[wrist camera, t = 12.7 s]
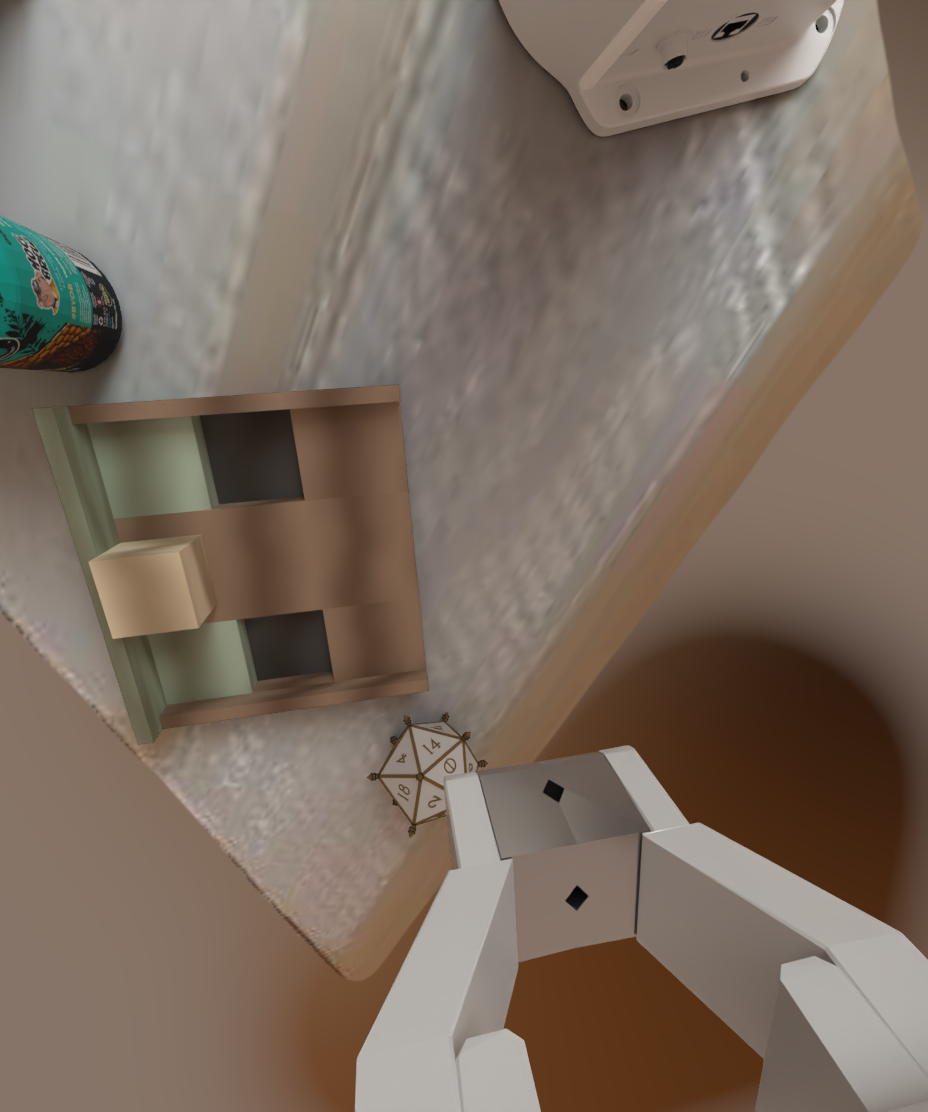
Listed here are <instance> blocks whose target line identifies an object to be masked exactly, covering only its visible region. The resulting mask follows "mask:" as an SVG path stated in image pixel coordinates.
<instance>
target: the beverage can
mask: <svg viewBox="0 0 928 1112" xmlns="http://www.w3.org/2000/svg"><path fill="white" fill-rule="evenodd" d="M121 328H122V317H121V311H120V306H119V301H118V299H117V297H116V294H115V292H114V290H113V288H112V286H111V285H110V283H109V281H108V280H107V278H106V277H105V275H104V274H103V273H102V272H101V271H100V270H99V269H98V268H97V267H96V266H95V265H94V264H93V263H92V262H91V261H89V260H88V259H87V258H86V257H84V256H83V255H82V254H80V253H78V252H76V251H74V250H72V249H70V248H69V247H66V246H64V245H62V244H60V243H58V242H56V241H54V240H51V239H49V238H47V237H45V236H43V235H41V234H38V233H36V232H34V231H32V230H30V229H28V228H25V227H23V226H21V225H19V224H17V223H15V222H13V221H10V220H8V219H6V218H4V217H2V216H0V368H12V369H28V370H44V371H60V372H77V371H85V370H87V369H90V368H93V367H96V366H97V365H99V364H100V363H102V362H103V361H105V360H106V359H107V358H108V357H109V355H110V354H111V353H112V352H113V351H114V349H115V347H116V345H117V343H118V341H119V337H120V333H121Z"/></svg>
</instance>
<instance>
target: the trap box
mask: <svg viewBox="0 0 928 1112" xmlns="http://www.w3.org/2000/svg"><path fill="white" fill-rule="evenodd" d="M32 411H33V414H34V417H35V420H36V423H37V427H38V430H39V433H40V436H41V439H42V442H43V446H44V449H45V452H46V455H47V458H48V461H49V465H50V468H51V471H52V474H53V477H54V480H55V484H56V487H57V490H58V493H59V496H60V499H61V503H62V506H63V509H64V512H65V515H66V518H67V522H68V525H69V528H70V531H71V534H72V538H73V541H74V544H75V547H76V550H77V553H78V557H79V560H80V563H81V566H82V569H83V572H84V576H85V579H86V582H87V585H88V588H89V591H90V595H91V598H92V601H93V604H94V607H95V610H96V614H97V617H98V620H99V623H100V626H101V629H102V633H103V636H104V639H105V642H106V645H107V649H108V652H109V655H110V658H111V661H112V664H113V668H114V671H115V674H116V677H117V680H118V683H119V687H120V690H121V693H122V696H123V699H124V702H125V706H126V709H127V712H128V715H129V718H130V721H131V725H132V728H133V731H134V734H135V737H136V740H137V744H138V745H141V744H148V743H154V741H155V740H156V738H157V737H158V735H159V733H160V732H161V730H162V729H166V728H173V727H180V726H187V725H194V724H201V723H208V722H215V721H222V720H229V719H236V718H243V717H250V716H257V715H264V714H271V713H278V712H285V711H292V710H299V709H306V708H313V707H320V706H326V705H333V704H340V703H347V702H354V701H361V700H368V699H375V698H382V697H389V696H396V695H403V694H410V693H417V692H424V691H429V685H428V677H427V671H426V662H425V652H424V642H423V632H422V621H421V611H420V601H419V591H418V581H417V571H416V561H415V551H414V541H413V531H412V521H411V511H410V500H409V490H408V480H407V470H406V460H405V450H404V440H403V430H402V420H401V410H400V391H399V385H384V386H369V387H354V388H339V389H324V390H308V391H293V392H278V393H263V394H248V395H233V396H218V397H203V398H188V399H172V400H157V401H142V402H127V403H112V404H97V405H82V406H66V407H47V408H32ZM191 535H201V537H202V541H203V545H204V549H205V553H206V557H207V562H208V566H209V570H210V574H211V578H212V583H213V587H214V591H215V595H216V599H217V605H216V606H215V607H214V609H213V610H212V611H211V613H210V614H209V615H208V616H207V618H206V619H205V620H204V622H203V623H202V624H201V626H200V627H199V628H196V629H188V630H180V631H172V632H164V633H156V634H148V635H140V636H132V637H124V638H116V639H113V638H112V635H111V632H110V629H109V626H108V623H107V619H106V616H105V613H104V610H103V607H102V604H101V600H100V597H99V594H98V591H97V588H96V585H95V581H94V578H93V575H92V572H91V569H90V566H89V561H91V560H92V559H94V558H96V557H97V556H99V555H101V554H102V553H104V552H106V551H108V550H109V549H111V548H113V547H114V546H116V545H118V544H120V543H124V542H133V541H143V540H153V539H162V538H172V537H182V536H191Z"/></svg>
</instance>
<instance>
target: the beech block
mask: <svg viewBox="0 0 928 1112" xmlns="http://www.w3.org/2000/svg"><path fill="white" fill-rule="evenodd" d="M89 566H90V569H91V572H92V575H93V578H94V581H95V585H96V588H97V591H98V594H99V597H100V600H101V604H102V607H103V610H104V613H105V616H106V619H107V623H108V626H109V629H110V632H111V635H112V638H113V639H116V638H124V637H132V636H140V635H148V634H156V633H164V632H172V631H180V630H188V629H196V628H199V627H200V626H201V624H202V623H203V622H204V620H205V619H206V618H207V616H208V615H209V614H210V613H211V611H212V610H213V609H214V607H215V606H216V605H217V599H216V595H215V591H214V587H213V583H212V578H211V574H210V570H209V566H208V562H207V557H206V553H205V549H204V545H203V541H202V537H201V535H191V536H182V537H172V538H162V539H153V540H143V541H133V542H124V543H120V544H118V545H116V546H114V547H113V548H111V549H109V550H108V551H106V552H104V553H102V554H101V555H99V556H97V557H96V558H94V559H92V560H91V561H89Z"/></svg>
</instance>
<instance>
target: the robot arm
mask: <svg viewBox="0 0 928 1112" xmlns="http://www.w3.org/2000/svg"><path fill="white" fill-rule="evenodd" d="M499 2H500V4H501V7H502V9H503V12H504V14H505V16H506V18H507V20H508V22H509V24H510V26H511V28H512V29H513V31H514V33H515V34H516V36H517V37H518V39H519V40H520V42H521V43H522V45H523V46H524V47H525V49H526V50H527V51H528V52H529V54H530V55H531V56H532V57H533V58H534V59H535V60H536V61H537V62H538V63H539V64H540V65H541V66H542V67H543V68H544V69H545V70H547V71H548V72H549V73H550V74H551V75H552V76H554V77H555V78H556V79H557V80H558V81H559V82H560V83H561V84H562V85H563V86H564V87H565V88H566V89H567V91H568V92H569V94H570V96H571V98H572V100H573V102H574V104H575V106H576V108H577V110H578V112H579V114H580V116H581V117H582V119H583V121H584V122H585V124H586V125H587V127H588V128H589V129H590V130H591V131H592V132H593V133H594V134H596V135H598V136H603V137H604V136H611V135H615V134H619V133H623V132H627V131H631V130H634V129H638V128H642V127H646V126H650V125H654V124H658V123H662V122H666V121H670V120H674V119H678V118H682V117H686V116H690V115H694V114H698V113H702V112H706V111H710V110H714V109H718V108H722V107H726V106H730V105H734V104H738V103H742V102H746V101H750V100H754V99H758V98H762V97H766V96H770V95H774V94H777V93H781V92H785V91H789V90H792V89H795V88H797V87H799V86H801V85H802V84H803V83H804V82H805V81H806V80H807V79H809V78H810V77H811V76H812V74H813V73H814V72H815V70H816V68H817V67H818V65H819V63H820V62H821V60H822V58H823V56H824V54H825V52H826V50H827V48H828V46H829V44H830V41H831V39H832V37H833V34H834V32H835V29H836V26H837V23H838V20H839V17H840V14H841V10H842V7H843V3H844V0H499ZM815 24H816V25H817V26H818V29H819V32H817V30H816V27H815ZM620 100H623V101H625V102H626V104H627V111H624V110H622V109H621V107H620V104H619V101H620ZM444 793H445V804H446V815H447V825H448V836H449V845H450V854H451V863H452V870H450V871H448V872H447V874H446V877H445V879H444V881H443V883H442V885H441V887H440V889H439V891H438V893H437V895H436V897H435V899H434V901H433V903H432V906H431V908H430V909H429V911H428V914H427V916H426V918H425V920H424V922H423V924H422V926H421V928H420V930H419V932H418V934H417V936H416V938H415V940H414V942H413V944H412V946H411V949H410V951H409V953H408V955H407V957H406V959H405V961H404V963H403V965H402V967H401V969H400V971H399V973H398V976H397V977H396V979H395V981H394V984H393V986H392V988H391V990H390V992H389V994H388V996H387V998H386V1000H385V1002H384V1004H383V1006H382V1008H381V1010H380V1012H379V1014H378V1016H377V1018H376V1020H375V1023H374V1025H373V1027H372V1029H371V1031H370V1033H369V1035H368V1037H367V1039H366V1041H365V1043H364V1045H363V1048H362V1049H361V1052H360V1053H359V1056H358V1058H357V1069H356V1097H355V1112H541V1110H540V1106H539V1102H538V1098H537V1093H536V1089H535V1085H534V1080H533V1076H532V1072H531V1068H530V1063H529V1059H528V1055H527V1050H526V1046H525V1042H524V1040H523V1039H521V1038H520V1037H518V1036H517V1035H515V1034H514V1033H512V1032H511V1031H509V1030H508V1029H503V1028H504V1024H505V1020H506V1016H507V1012H508V1007H509V1003H510V999H511V995H512V991H513V987H514V983H515V978H516V974H517V970H518V962H522V961H526V960H529V959H533V958H537V957H541V956H545V955H549V954H553V953H557V952H561V951H565V950H569V949H572V948H576V947H582V946H587V945H593V944H598V943H604V942H609V941H614V940H620V939H626V938H630V937H636V936H637V938H636V940H637V941H638V942H639V943H640V944H641V945H642V946H643V947H644V948H646V950H648V951H649V952H650V953H651V954H652V955H653V956H654V957H655V958H656V959H657V960H658V961H659V962H660V963H662V964H663V965H664V966H665V967H666V968H667V969H668V970H669V971H670V972H671V973H672V974H673V975H675V977H677V978H678V979H679V980H680V981H681V982H682V983H683V984H684V985H685V986H686V987H687V988H688V989H689V990H691V991H692V992H693V993H694V994H695V995H696V996H697V997H698V998H699V999H700V1000H701V1001H702V1002H703V1003H704V1004H706V1005H707V1006H708V1007H709V1008H710V1009H711V1010H712V1011H713V1012H714V1013H715V1014H716V1015H718V1016H719V1017H720V1018H721V1019H722V1020H723V1021H724V1022H725V1023H726V1024H727V1025H728V1026H729V1027H730V1028H732V1029H733V1031H735V1032H736V1033H737V1034H738V1035H739V1036H740V1037H741V1038H742V1039H743V1040H744V1041H745V1042H746V1043H747V1044H748V1045H750V1046H751V1047H752V1048H753V1049H754V1050H755V1051H756V1052H757V1053H758V1054H759V1055H760V1056H761V1057H762V1058H763V1059H764V1064H763V1070H762V1076H761V1081H760V1087H759V1092H758V1098H757V1103H756V1109H755V1112H928V960H927V959H926V958H925V957H924V956H923V955H922V954H921V953H920V952H919V950H918V949H917V948H916V947H915V946H914V945H913V944H912V943H911V942H910V941H909V940H908V939H907V938H906V937H905V936H904V935H903V934H902V933H901V932H899V931H897V930H895V929H893V928H892V927H890V926H888V925H886V924H884V923H883V922H881V921H879V920H877V919H875V918H873V917H872V916H870V915H868V914H866V913H864V912H862V911H861V910H859V909H857V908H855V907H853V906H851V905H850V904H848V903H846V902H844V901H842V900H840V899H839V898H837V897H835V896H833V895H831V894H829V893H828V892H826V891H824V890H822V889H820V888H818V887H817V886H815V885H813V884H811V883H809V882H808V881H806V880H804V879H802V878H800V877H798V876H797V875H795V874H793V873H791V872H789V871H787V870H786V869H784V868H782V867H780V866H778V865H776V864H774V863H773V862H770V861H769V860H767V859H765V858H763V857H762V856H760V855H758V854H756V853H754V852H752V851H750V850H749V849H747V848H745V847H743V846H742V845H740V844H738V843H736V842H734V841H732V840H730V839H729V838H727V837H725V836H723V835H721V834H719V833H717V832H716V831H714V830H712V829H710V828H709V827H707V826H705V825H703V824H701V823H694V824H689V823H688V821H687V820H686V819H685V817H684V816H683V814H682V813H681V812H680V810H679V809H678V808H677V806H676V805H675V803H674V802H673V801H672V799H671V798H670V797H669V796H668V794H667V793H666V791H665V790H664V788H663V787H662V786H661V784H660V783H659V782H658V780H657V779H656V778H655V776H654V775H653V773H652V772H651V771H650V770H649V768H648V767H647V765H646V764H645V762H644V761H643V760H642V758H641V757H640V756H639V754H638V753H637V752H636V750H635V749H634V748H632V747H631V746H628V745H627V746H621V747H616V748H611V749H606V750H601V751H598V752H593V753H587V754H581V755H576V756H570V757H564V758H559V759H553V760H547V761H542V762H536V763H529V764H522V765H515V766H508V767H501V768H494V769H487V770H480V771H477V773H476V772H470V773H463V774H456V775H449V776H444Z"/></svg>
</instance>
